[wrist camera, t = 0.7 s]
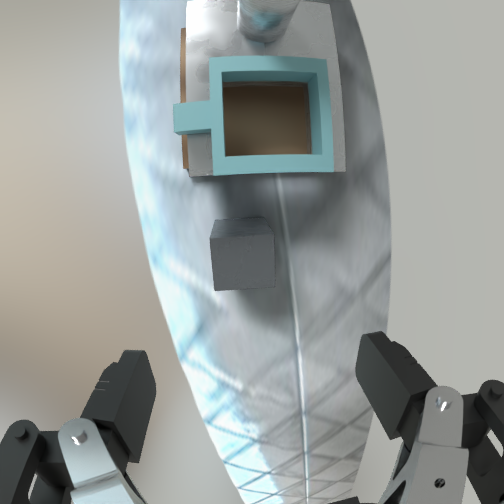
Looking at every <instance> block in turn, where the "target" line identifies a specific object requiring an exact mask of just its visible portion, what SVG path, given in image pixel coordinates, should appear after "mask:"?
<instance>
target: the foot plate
mask: <svg viewBox="0 0 504 504" xmlns="http://www.w3.org/2000/svg"><path fill="white" fill-rule="evenodd" d="M180 91H181V103H186V28H182V29H181V56H180ZM223 102H224V126H225V148H226V157H229V156H248V155H283V154H307V139H306V120H305V103H304V89H303V87H289V86H243V87H223ZM182 152H183V169H187V168H189V161H188V142H187V135H182Z"/></svg>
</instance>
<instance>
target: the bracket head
mask: <svg viewBox="0 0 504 504" xmlns="http://www.w3.org/2000/svg"><path fill="white" fill-rule="evenodd" d="M209 80H210V100H207V101H196V102H187V103H178V104H173V117H174V132H175V133H176V134H178V135H187V134H197V133H208V132H211V137H212V158H213V176H217V175H232V174H251V173H279V172H334V158H333V133H332V115H331V101H330V89H329V78H328V68H327V59H318V58H307V57H292V56H225V57H211V58H209ZM235 81H294V82H308V88H309V102H310V118H311V137H312V154H283V155H248V156H229V157H226V155H225V134H224V111H223V84H222V82H235Z"/></svg>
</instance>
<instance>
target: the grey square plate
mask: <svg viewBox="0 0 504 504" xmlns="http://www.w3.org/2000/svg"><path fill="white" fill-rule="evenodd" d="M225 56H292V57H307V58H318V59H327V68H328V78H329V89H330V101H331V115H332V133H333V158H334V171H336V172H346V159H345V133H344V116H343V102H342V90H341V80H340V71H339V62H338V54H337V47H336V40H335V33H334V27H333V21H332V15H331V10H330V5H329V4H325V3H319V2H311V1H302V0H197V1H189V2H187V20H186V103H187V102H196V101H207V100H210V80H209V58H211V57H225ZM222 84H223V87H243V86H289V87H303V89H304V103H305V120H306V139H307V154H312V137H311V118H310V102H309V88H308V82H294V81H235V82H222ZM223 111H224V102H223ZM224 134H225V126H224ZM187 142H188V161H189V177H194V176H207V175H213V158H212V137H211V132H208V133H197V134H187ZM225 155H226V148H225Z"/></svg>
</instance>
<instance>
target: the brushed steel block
mask: <svg viewBox="0 0 504 504" xmlns="http://www.w3.org/2000/svg"><path fill="white" fill-rule="evenodd" d="M210 249H211V260H212V270H213V280H214V290H215V291H222V290H238V289H253V288H266V287H275V247H274V233H273V232H272V230H271V228H270V227H269V225H268V224H267V222H266V221H265V219H264V217H256V218H239V219H223V220H215V222H214V225H213V229H212V232H211V235H210Z"/></svg>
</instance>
